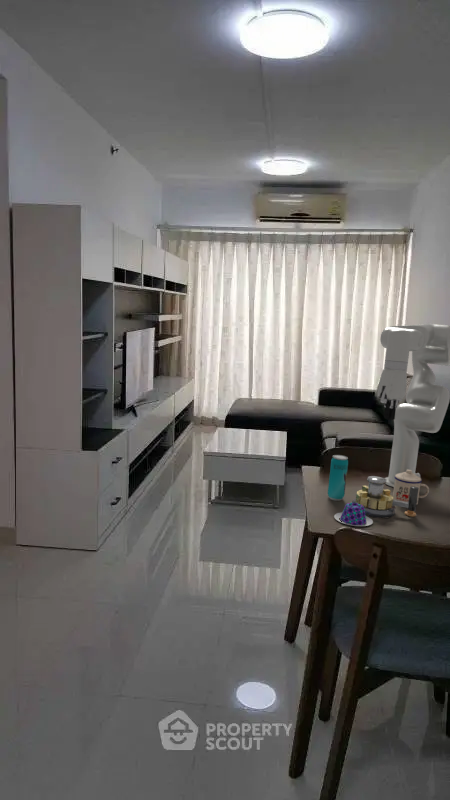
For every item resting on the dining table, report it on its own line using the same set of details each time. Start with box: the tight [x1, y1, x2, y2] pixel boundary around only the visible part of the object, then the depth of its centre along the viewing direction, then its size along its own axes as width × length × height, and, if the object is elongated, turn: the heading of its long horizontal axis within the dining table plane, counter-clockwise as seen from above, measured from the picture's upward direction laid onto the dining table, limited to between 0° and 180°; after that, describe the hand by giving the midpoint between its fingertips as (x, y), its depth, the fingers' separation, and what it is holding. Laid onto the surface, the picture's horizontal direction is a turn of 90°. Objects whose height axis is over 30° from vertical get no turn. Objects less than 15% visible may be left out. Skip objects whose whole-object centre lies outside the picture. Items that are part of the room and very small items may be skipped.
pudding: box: [333, 502, 374, 527], centre depth 192 cm, size 12×12×5 cm
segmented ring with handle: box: [355, 485, 419, 512], centre depth 201 cm, size 19×12×8 cm, turn 71°
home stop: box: [404, 509, 417, 517], centre depth 201 cm, size 4×4×8 cm
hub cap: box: [351, 475, 396, 519], centre depth 202 cm, size 14×14×11 cm
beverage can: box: [327, 454, 349, 502], centre depth 211 cm, size 6×6×15 cm
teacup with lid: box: [392, 470, 430, 506], centre depth 213 cm, size 12×9×12 cm
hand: (389, 419), depth 210 cm, fingers closed
